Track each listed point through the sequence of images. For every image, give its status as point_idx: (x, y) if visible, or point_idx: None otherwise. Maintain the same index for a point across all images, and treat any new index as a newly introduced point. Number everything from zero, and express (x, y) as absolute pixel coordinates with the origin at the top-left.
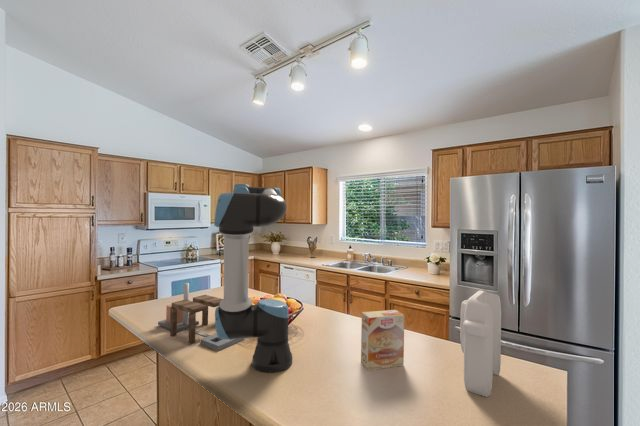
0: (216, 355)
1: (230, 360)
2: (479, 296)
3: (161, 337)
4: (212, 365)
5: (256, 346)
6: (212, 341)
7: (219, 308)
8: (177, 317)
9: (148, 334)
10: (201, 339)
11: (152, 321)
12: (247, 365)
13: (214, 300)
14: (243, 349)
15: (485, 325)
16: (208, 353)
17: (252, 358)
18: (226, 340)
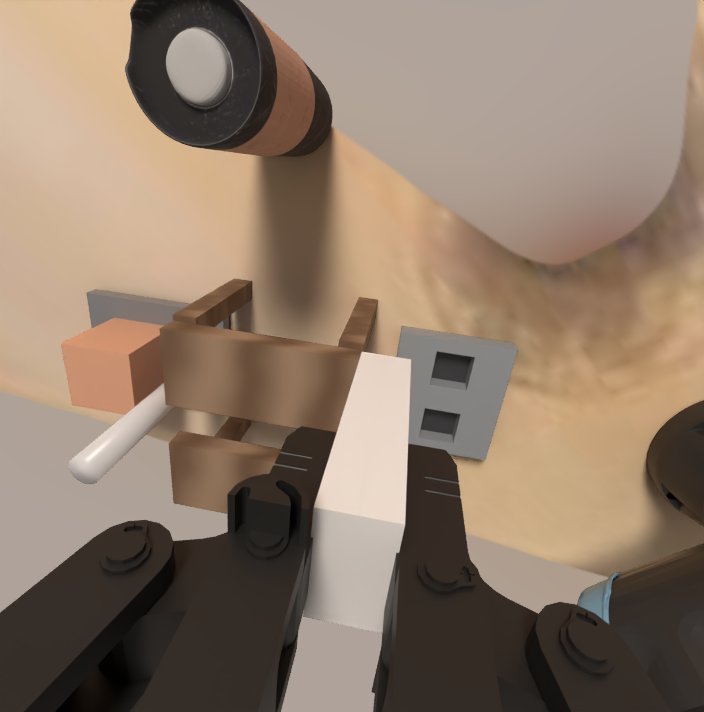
0: (498, 474)
1: (564, 484)
2: None
3: None
4: (529, 520)
5: (696, 514)
6: (437, 441)
7: None
8: (161, 381)
9: (167, 440)
10: None
11: (47, 354)
12: (639, 490)
13: (311, 398)
14: (562, 411)
15: None
16: (463, 472)
17: (664, 497)
18: (480, 417)
